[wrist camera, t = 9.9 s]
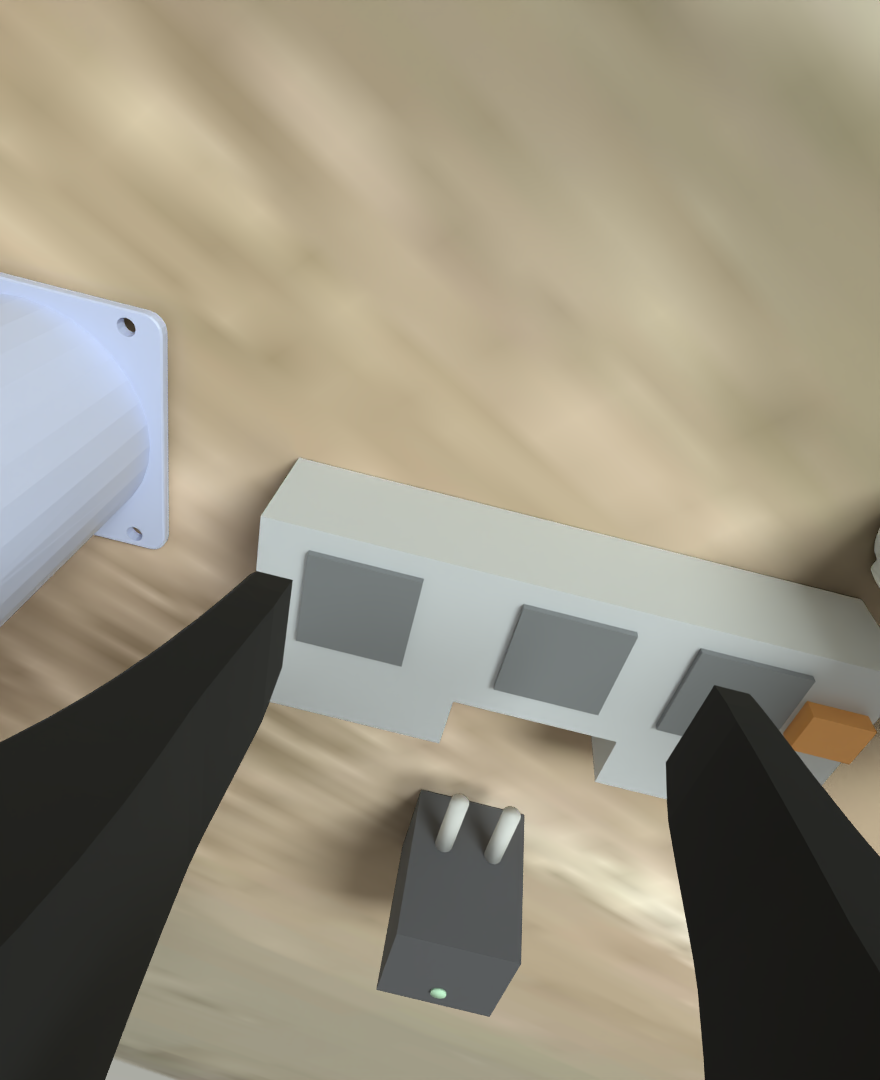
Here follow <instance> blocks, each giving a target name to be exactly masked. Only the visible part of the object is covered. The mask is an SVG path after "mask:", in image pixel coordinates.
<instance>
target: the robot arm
mask: <svg viewBox="0 0 880 1080" xmlns="http://www.w3.org/2000/svg"><path fill="white" fill-rule="evenodd" d="M124 318H128V319H130V320H131V321H132V322H133V324H134V325H135V329H136V331H135V332H132V331H130V330H128V328H127V327H126V326H125V323H124ZM133 527H135V528H137V529H139V530H140V531H141V533H142V534H139V533H137V532H136V531H135V530H134V529H133ZM93 535H97V536H101V537H105V538H109V539H113V540H117V541H121V542H125V543H129V544H133V545H137V546H141V547H145V548H149V549H159V548H161V547H162V546H163V545H164V544H165V543H166V541H167V540H168V537H169V488H168V337H167V328H166V324H165V323H164V321H163V319H162V318H161V317H160V316H159V315H158V314H156V313H154V312H152V311H150V310H146V309H142V308H138V307H135V306H131V305H127V304H123V303H119V302H115V301H111V300H107V299H103V298H99V297H95V296H91V295H88V294H84V293H80V292H76V291H72V290H68V289H64V288H60V287H56V286H52V285H48V284H45V283H41V282H37V281H33V280H29V279H25V278H21V277H17V276H13V275H9V274H5V273H1V272H0V627H1V626H2V625H3V624H4V623H5V622H6V621H7V620H8V619H9V618H10V617H11V616H12V615H13V614H14V613H15V612H16V611H17V610H18V609H19V608H20V607H21V606H22V605H23V604H24V603H25V602H26V601H27V600H28V599H29V598H30V597H31V596H32V595H33V594H34V593H35V592H36V591H37V590H38V589H39V588H40V587H41V586H42V585H43V584H44V583H45V582H46V581H47V580H48V579H49V578H50V577H51V576H52V575H53V574H54V573H55V572H56V571H57V570H58V569H60V568H61V567H62V566H63V565H64V564H65V563H66V562H67V561H68V560H69V559H70V558H71V557H72V556H73V555H74V554H75V553H76V552H77V551H78V550H79V549H80V548H81V547H82V546H83V545H84V544H85V543H86V542H87V541H88V540H89V539H90V538H91V537H92V536H93ZM292 583H293V580H291V579H287V578H283V577H279V576H275V575H271V574H267V573H263V572H259V571H256V572H254V573H252V574H250V575H249V576H248V577H247V578H246V579H244V580H243V581H242V582H241V583H240V584H239V585H238V586H236V587H235V588H234V589H233V590H232V591H231V592H229V593H228V594H227V595H226V596H225V597H223V598H222V599H221V600H220V601H219V602H217V603H216V604H215V605H214V606H213V607H211V608H210V609H209V610H208V611H206V612H205V613H204V614H203V615H201V616H200V617H199V618H198V619H196V620H195V621H194V622H192V623H191V624H190V625H188V626H187V627H186V628H184V629H183V630H182V631H181V632H179V633H178V634H177V635H175V636H174V637H173V638H171V639H170V640H169V641H167V642H166V643H165V644H163V645H162V646H161V647H159V648H158V649H156V650H155V651H154V652H152V653H151V654H149V655H148V656H146V657H145V658H143V659H142V660H140V661H139V662H137V663H136V664H134V665H133V666H131V667H130V668H128V669H127V670H126V671H124V672H123V673H121V674H120V675H118V676H117V677H115V678H114V679H112V680H111V681H109V682H107V683H106V684H104V685H103V686H101V687H99V688H98V689H96V690H95V691H93V692H91V693H90V694H88V695H86V696H85V697H83V698H81V699H80V700H78V701H76V702H75V703H73V704H71V705H69V706H68V707H66V708H64V709H62V710H61V711H59V712H57V713H55V714H54V715H52V716H50V717H48V718H46V719H44V720H43V721H41V722H39V723H37V724H35V725H33V726H31V727H29V728H27V729H25V730H23V731H21V732H19V733H18V734H16V735H14V736H12V737H10V738H8V739H6V740H4V741H2V742H0V1080H105V1078H106V1076H107V1073H108V1070H109V1068H110V1065H111V1062H112V1060H113V1057H114V1054H115V1052H116V1049H117V1047H118V1044H119V1041H120V1039H121V1036H122V1033H123V1031H124V1028H125V1025H126V1023H127V1020H128V1018H129V1015H130V1012H131V1010H132V1007H133V1004H134V1002H135V999H136V996H137V994H138V991H139V989H140V986H141V984H142V981H143V979H144V976H145V973H146V971H147V968H148V966H149V963H150V961H151V958H152V956H153V953H154V951H155V948H156V945H157V943H158V940H159V938H160V935H161V933H162V930H163V928H164V925H165V923H166V920H167V918H168V915H169V913H170V910H171V908H172V905H173V903H174V901H175V898H176V896H177V893H178V891H179V888H180V886H181V883H182V881H183V878H184V876H185V873H186V871H187V869H188V866H189V864H190V862H191V860H192V858H193V856H194V853H195V851H196V849H197V847H198V845H199V843H200V841H201V839H202V837H203V835H204V833H205V831H206V829H207V827H208V825H209V823H210V821H211V819H212V817H213V815H214V814H215V812H216V810H217V808H218V806H219V804H220V802H221V800H222V798H223V796H224V794H225V792H226V790H227V788H228V786H229V785H230V783H231V781H232V779H233V777H234V775H235V773H236V771H237V769H238V767H239V765H240V763H241V761H242V759H243V757H244V756H245V754H246V752H247V750H248V748H249V746H250V744H251V742H252V740H253V738H254V736H255V734H256V732H257V730H258V728H259V726H260V724H261V722H262V720H263V717H264V715H265V712H266V709H267V707H268V704H269V702H270V699H271V696H272V694H273V691H274V688H275V686H276V683H277V680H278V678H279V675H280V672H281V669H282V665H283V657H284V648H285V640H286V632H287V624H288V615H289V607H290V599H291V591H292ZM666 789H667V808H668V822H669V828H670V834H671V840H672V846H673V851H674V857H675V863H676V868H677V874H678V879H679V884H680V890H681V895H682V901H683V906H684V911H685V917H686V922H687V928H688V933H689V938H690V944H691V949H692V954H693V960H694V967H695V974H696V981H697V988H698V998H699V1009H700V1021H701V1033H702V1044H703V1056H704V1072H705V1080H880V856H879V855H878V854H877V853H876V852H875V851H874V849H873V848H872V847H871V846H870V845H869V844H868V842H867V841H866V840H865V839H864V838H863V837H862V835H861V834H860V833H859V832H858V830H857V829H856V828H855V827H854V826H853V824H852V823H851V822H850V821H849V820H848V818H847V817H846V816H845V815H844V813H843V812H842V811H841V810H840V808H839V807H838V806H837V805H836V803H835V802H834V801H833V800H832V798H831V797H830V796H829V795H828V793H827V792H826V791H825V789H824V788H823V787H822V786H821V784H820V783H819V782H818V780H817V779H816V778H815V777H814V775H813V774H812V773H811V771H810V770H809V769H808V768H807V766H806V765H805V764H804V762H803V761H802V760H801V758H800V757H799V756H798V754H797V753H796V752H795V751H794V749H793V748H792V747H791V745H790V744H789V743H788V741H787V740H786V739H785V737H784V736H783V735H782V734H781V732H780V731H779V730H778V728H777V727H776V726H775V724H774V723H773V722H772V721H771V719H770V718H769V717H768V715H767V714H766V713H765V712H764V710H763V709H762V708H761V707H760V705H759V704H758V703H757V702H756V701H755V699H754V698H753V697H752V696H751V695H750V694H748V693H744V692H740V691H736V690H732V689H728V688H724V687H720V686H716V685H714V686H713V688H712V690H711V691H710V693H709V694H708V696H707V698H706V699H705V701H704V702H703V704H702V706H701V707H700V709H699V710H698V712H697V713H696V715H695V717H694V718H693V720H692V721H691V723H690V725H689V726H688V728H687V729H686V731H685V733H684V734H683V736H682V737H681V739H680V741H679V742H678V744H677V745H676V747H675V748H674V750H673V752H672V753H671V755H670V756H669V758H668V760H667V761H666Z"/></svg>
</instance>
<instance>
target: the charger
mask: <svg viewBox="0 0 880 1080" xmlns="http://www.w3.org/2000/svg"><path fill="white" fill-rule="evenodd" d="M523 852H524V815H523V814H520V812H519V811H518V809H516V808H515V807H512V806H508V807H505V808H504V810H502V809H498V808H494V807H490V806H486V805H482V804H478V803H474V802H470V801H469V800H468V799H467V797H466V796H464V795H462V794H455V795H453V796H452V797H449V796H445V795H441V794H437V793H433V792H429V791H425V790H421V792H420V795H419V798H418V801H417V804H416V807H415V810H414V813H413V817H412V820H411V823H410V826H409V829H408V832H407V835H406V838H405V841H404V844H403V847H402V852H401V858H400V863H399V869H398V874H397V880H396V885H395V891H394V896H393V902H392V907H391V913H390V918H389V924H388V929H387V935H386V940H385V945H384V951H383V956H382V962H381V967H380V973H379V978H378V984H377V989H376V990H380V991H384V992H388V993H392V994H397V995H401V996H405V997H409V998H413V999H417V1000H422V1001H426V1002H430V1003H434V1004H438V1005H443V1006H447V1007H451V1008H455V1009H459V1010H463V1011H468V1012H472V1013H476V1014H480V1015H484V1016H489V1017H490V1015H491V1013H492V1012H493V1010H494V1008H495V1007H496V1005H497V1003H498V1002H499V1000H500V998H501V997H502V995H503V993H504V992H505V990H506V988H507V987H508V985H509V983H510V981H511V980H512V978H513V976H514V975H515V973H516V971H517V970H518V968H519V966H520V965H521V942H522V897H523Z"/></svg>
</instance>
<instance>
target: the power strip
mask: <svg viewBox="0 0 880 1080" xmlns="http://www.w3.org/2000/svg"><path fill="white" fill-rule="evenodd" d="M256 571H259V572H263V573H267V574H271V575H275V576H279V577H283V578H287V579H291V580H293V583H292V591H291V599H290V607H289V615H288V624H287V632H286V640H285V648H284V657H283V665H282V669H281V672H280V675H279V678H278V680H277V683H276V686H275V688H274V691H273V694H272V696H271V699H270V702H273V703H277V704H281V705H285V706H289V707H293V708H297V709H301V710H305V711H309V712H313V713H317V714H321V715H326V716H330V717H334V718H338V719H342V720H346V721H350V722H354V723H358V724H362V725H366V726H370V727H374V728H378V729H382V730H387V731H391V732H395V733H399V734H403V735H407V736H411V737H415V738H419V739H423V740H427V741H431V742H435V743H440V740H441V737H442V734H443V731H444V728H445V725H446V722H447V719H448V715H449V712H450V709H451V706H452V703H453V702H457V703H461V704H465V705H469V706H473V707H477V708H481V709H485V710H489V711H493V712H497V713H501V714H505V715H509V716H513V717H517V718H521V719H526V720H530V721H534V722H538V723H542V724H546V725H550V726H554V727H558V728H562V729H566V730H570V731H574V732H578V733H582V734H586V735H590V736H591V737H592V750H593V762H594V775H595V782H598V783H602V784H606V785H610V786H614V787H618V788H622V789H626V790H631V791H635V792H639V793H643V794H647V795H651V796H655V797H659V798H663V799H667V789H666V761H667V760H668V758H669V756H670V755H671V753H672V752H673V750H674V748H675V747H676V745H677V744H678V742H679V741H680V739H681V737H682V736H683V734H684V733H685V731H686V729H687V728H688V726H689V725H690V723H691V721H692V720H693V718H694V717H695V715H696V713H697V712H698V710H699V709H700V707H701V706H702V704H703V702H704V701H705V699H706V698H707V696H708V694H709V693H710V691H711V690H712V688H713V686H714V685H716V686H720V687H724V688H728V689H732V690H736V691H740V692H744V693H748V694H750V695H751V696H752V697H753V698H754V699H755V701H756V702H757V703H758V704H759V705H760V707H761V708H762V709H763V710H764V712H765V713H766V714H767V715H768V717H769V718H770V719H771V721H772V722H773V723H774V724H775V726H776V727H777V728H778V730H779V731H780V732H781V734H782V735H783V736H784V737H785V739H786V740H787V741H788V743H789V744H790V745H791V747H792V748H793V749H794V751H795V752H796V753H797V754H798V756H799V757H800V758H801V760H802V761H803V762H804V764H805V765H806V766H807V768H808V769H809V770H810V771H811V773H812V774H813V775H814V777H815V778H816V779H817V780H818V782H819V783H820V784H821V786H822V785H823V783H824V782H825V781H826V780H827V779H828V777H829V776H830V775H831V774H832V773H833V772H834V770H835V769H836V768H837V767H838V766H839V765H840V763H841V762H842V763H846V764H850V763H851V762H852V761H853V760H854V759H855V758H856V756H857V755H858V754H859V753H860V752H861V751H862V749H863V748H864V747H865V746H866V745H867V744H868V743H869V741H870V740H871V739H872V738H873V737H874V736H875V734H876V733H877V732H876V730H875V728H874V726H873V725H874V724H875V722H876V721H877V720H878V719H879V718H880V628H879V626H878V624H877V623H876V621H875V620H874V618H873V617H872V615H871V613H870V612H869V610H868V609H867V607H866V605H865V604H864V602H863V601H862V600H861V599H857V598H853V597H849V596H845V595H841V594H837V593H833V592H829V591H825V590H821V589H818V588H814V587H810V586H806V585H802V584H798V583H794V582H790V581H786V580H782V579H778V578H774V577H770V576H766V575H762V574H758V573H754V572H750V571H746V570H742V569H738V568H734V567H730V566H726V565H722V564H718V563H715V562H711V561H707V560H703V559H699V558H695V557H691V556H687V555H683V554H679V553H675V552H671V551H667V550H663V549H659V548H655V547H651V546H647V545H643V544H639V543H635V542H631V541H627V540H623V539H619V538H616V537H612V536H608V535H604V534H600V533H596V532H592V531H588V530H584V529H580V528H576V527H572V526H568V525H564V524H560V523H556V522H552V521H548V520H544V519H540V518H536V517H532V516H528V515H524V514H520V513H516V512H513V511H509V510H505V509H501V508H497V507H493V506H489V505H485V504H481V503H477V502H473V501H469V500H465V499H461V498H457V497H453V496H449V495H445V494H441V493H437V492H433V491H429V490H425V489H421V488H417V487H414V486H410V485H406V484H402V483H398V482H394V481H390V480H386V479H382V478H378V477H374V476H370V475H366V474H362V473H358V472H354V471H350V470H346V469H342V468H338V467H334V466H330V465H326V464H322V463H318V462H315V461H311V460H307V459H303V458H299V459H298V460H297V462H296V463H295V465H294V466H293V468H292V469H291V471H290V472H289V474H288V475H287V477H286V478H285V480H284V481H283V483H282V484H281V486H280V488H279V489H278V491H277V492H276V494H275V495H274V497H273V498H272V500H271V501H270V503H269V504H268V506H267V507H266V509H265V510H264V512H263V513H262V515H261V519H260V531H259V543H258V555H257V567H256Z"/></svg>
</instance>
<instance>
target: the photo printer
mask: <svg viewBox="0 0 880 1080" xmlns="http://www.w3.org/2000/svg"><path fill="white" fill-rule="evenodd" d="M874 552H875V555H876V558H877V560H876V561H875V562H874V564H873V565H872V567H871V572H872V574H873V577H874V579H875V581H876V583H877V585H878V586H879V588H880V528H879V531H878V533H877V536H876V540H875V548H874Z"/></svg>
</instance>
